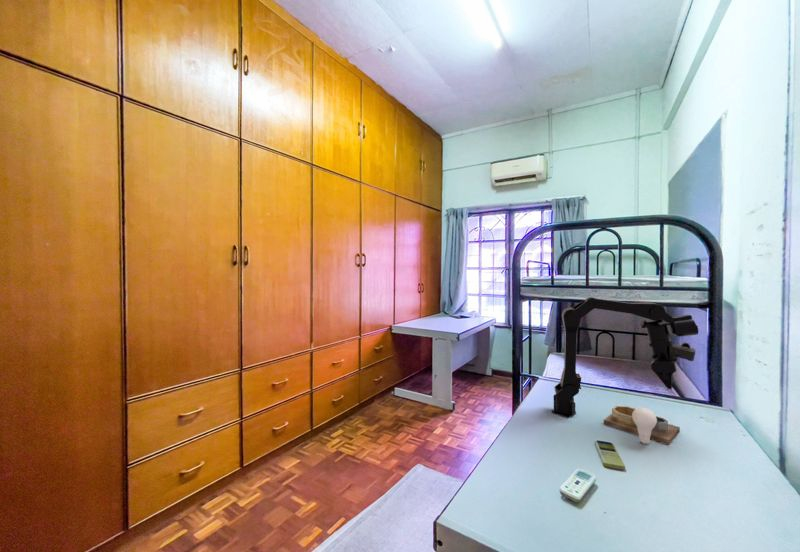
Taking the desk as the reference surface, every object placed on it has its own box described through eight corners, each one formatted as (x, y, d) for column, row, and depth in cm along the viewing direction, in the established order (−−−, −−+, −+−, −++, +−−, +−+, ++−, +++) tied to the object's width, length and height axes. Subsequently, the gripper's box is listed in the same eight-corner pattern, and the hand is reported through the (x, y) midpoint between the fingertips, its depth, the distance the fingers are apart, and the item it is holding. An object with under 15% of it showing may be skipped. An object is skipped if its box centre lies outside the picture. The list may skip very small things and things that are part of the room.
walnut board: (603, 424, 113) (603, 419, 113) (617, 413, 121) (617, 409, 121) (668, 445, 99) (668, 440, 99) (679, 431, 107) (679, 427, 107)
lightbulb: (653, 440, 101) (653, 405, 101) (659, 450, 96) (659, 413, 96) (630, 436, 104) (629, 402, 104) (634, 446, 98) (634, 410, 98)
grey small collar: (644, 427, 107) (644, 418, 107) (649, 423, 110) (649, 414, 110) (664, 433, 102) (664, 424, 102) (669, 428, 106) (669, 419, 106)
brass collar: (609, 419, 113) (609, 410, 113) (618, 412, 119) (618, 404, 119) (639, 428, 106) (639, 419, 106) (648, 420, 112) (647, 412, 112)
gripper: (690, 344, 99) (703, 395, 98) (689, 331, 112) (701, 376, 111) (645, 345, 106) (657, 393, 105) (650, 333, 120) (660, 375, 119)
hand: (670, 384), depth 110 cm, fingers open, 9 cm apart
